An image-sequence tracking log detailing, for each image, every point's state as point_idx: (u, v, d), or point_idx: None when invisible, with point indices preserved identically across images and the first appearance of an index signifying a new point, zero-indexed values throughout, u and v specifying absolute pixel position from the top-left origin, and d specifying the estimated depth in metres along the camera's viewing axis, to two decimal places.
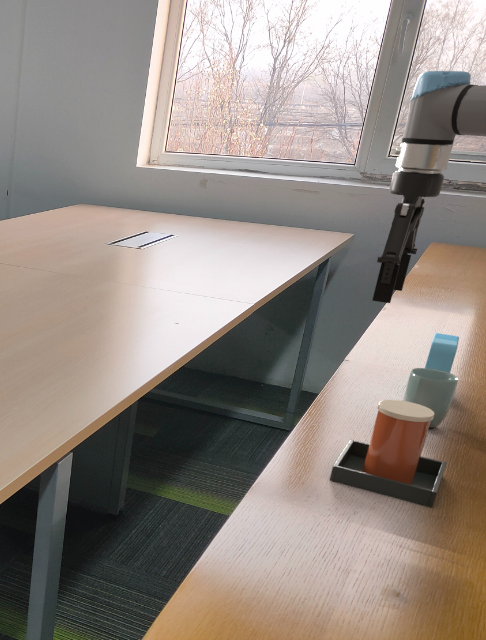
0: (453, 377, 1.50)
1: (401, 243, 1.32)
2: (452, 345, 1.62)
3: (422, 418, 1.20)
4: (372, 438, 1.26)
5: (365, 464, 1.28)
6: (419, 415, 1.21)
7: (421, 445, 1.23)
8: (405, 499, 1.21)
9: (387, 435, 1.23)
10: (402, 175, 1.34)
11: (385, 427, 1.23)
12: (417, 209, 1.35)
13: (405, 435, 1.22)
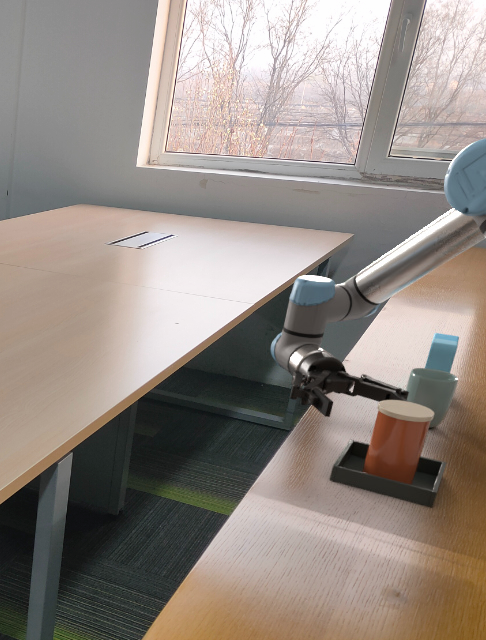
0: (453, 377, 1.50)
1: (293, 382, 1.43)
2: (452, 345, 1.62)
3: (422, 418, 1.20)
4: (372, 438, 1.26)
5: (365, 464, 1.28)
6: (419, 415, 1.21)
7: (421, 445, 1.23)
8: (405, 499, 1.21)
9: (387, 435, 1.23)
10: None
11: (385, 427, 1.23)
12: None
13: (405, 435, 1.22)
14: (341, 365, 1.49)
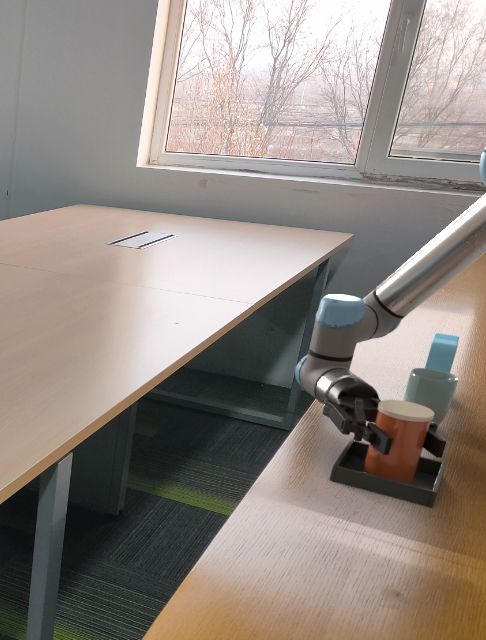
0: (453, 377, 1.50)
1: (340, 414, 1.30)
2: (452, 345, 1.62)
3: (422, 418, 1.20)
4: None
5: (365, 464, 1.28)
6: (419, 415, 1.21)
7: (421, 445, 1.23)
8: (405, 499, 1.21)
9: None
10: None
11: (385, 427, 1.23)
12: (354, 401, 1.36)
13: (405, 435, 1.22)
14: (374, 391, 1.38)
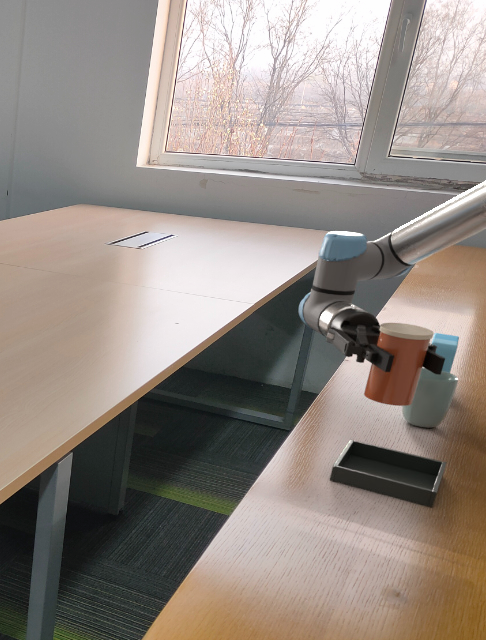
0: (453, 377, 1.50)
1: (343, 338, 1.36)
2: (452, 345, 1.62)
3: (422, 336, 1.26)
4: None
5: (367, 385, 1.34)
6: (419, 333, 1.27)
7: (421, 363, 1.28)
8: (405, 499, 1.21)
9: None
10: None
11: (386, 346, 1.29)
12: (356, 328, 1.42)
13: (405, 353, 1.27)
14: (375, 320, 1.43)
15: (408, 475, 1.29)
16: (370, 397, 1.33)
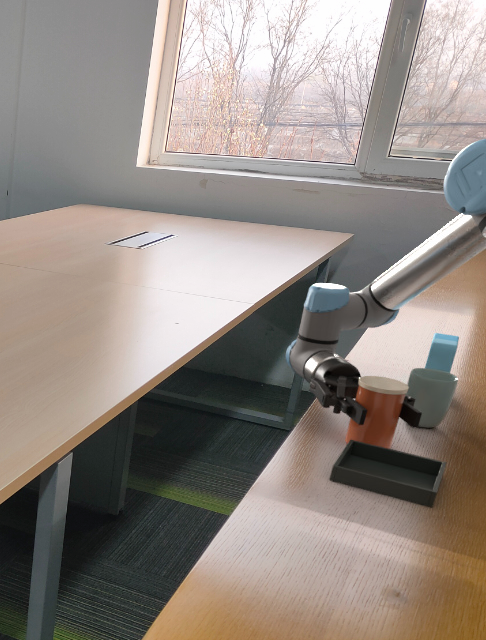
0: (452, 377, 1.50)
1: (321, 390, 1.44)
2: (452, 345, 1.62)
3: (397, 391, 1.34)
4: None
5: (347, 434, 1.42)
6: (395, 388, 1.34)
7: (397, 416, 1.36)
8: (405, 499, 1.21)
9: (367, 407, 1.37)
10: None
11: (364, 399, 1.37)
12: (338, 379, 1.49)
13: (382, 407, 1.35)
14: (356, 371, 1.51)
15: (408, 475, 1.29)
16: None
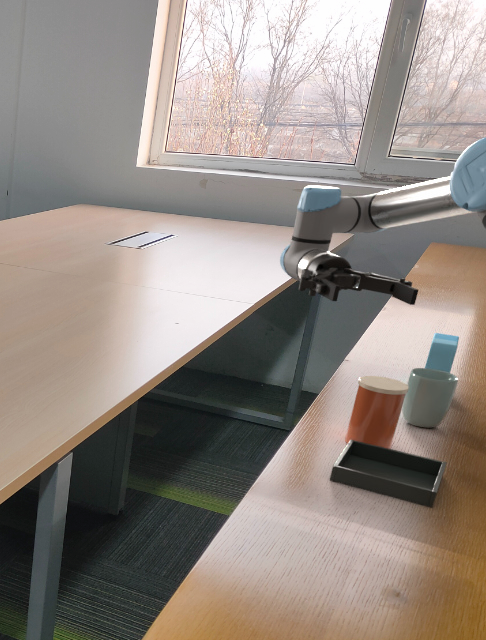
0: (453, 377, 1.50)
1: (302, 275, 1.51)
2: (452, 345, 1.62)
3: (397, 391, 1.34)
4: (353, 410, 1.40)
5: (347, 434, 1.42)
6: (395, 388, 1.34)
7: (397, 416, 1.36)
8: (405, 499, 1.21)
9: (367, 407, 1.37)
10: None
11: (364, 399, 1.37)
12: None
13: (382, 407, 1.35)
14: (347, 264, 1.57)
15: (408, 475, 1.29)
16: None
